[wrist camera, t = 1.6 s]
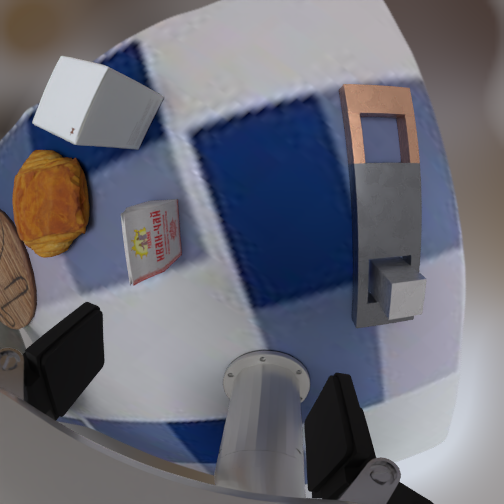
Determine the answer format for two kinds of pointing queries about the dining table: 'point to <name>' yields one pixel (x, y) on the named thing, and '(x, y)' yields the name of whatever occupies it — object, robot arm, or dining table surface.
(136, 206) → the white printed paper bag
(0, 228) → the trivet
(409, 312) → the steel peg
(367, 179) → the rail
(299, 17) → the dining table surface
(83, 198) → the croissant
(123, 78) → the supplement box
